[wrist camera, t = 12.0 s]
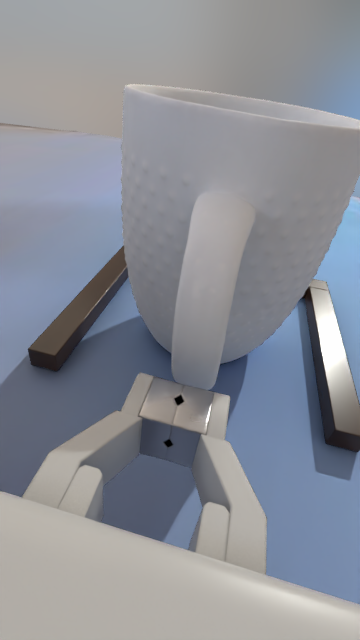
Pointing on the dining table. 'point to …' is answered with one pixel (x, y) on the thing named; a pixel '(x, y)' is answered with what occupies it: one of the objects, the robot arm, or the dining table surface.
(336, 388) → the bay rails
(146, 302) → the mug
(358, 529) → the dining table surface
